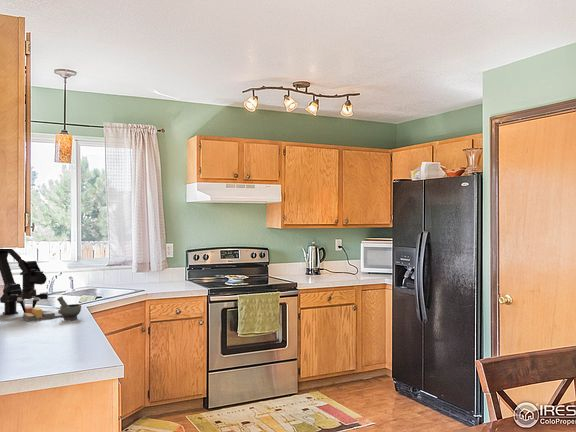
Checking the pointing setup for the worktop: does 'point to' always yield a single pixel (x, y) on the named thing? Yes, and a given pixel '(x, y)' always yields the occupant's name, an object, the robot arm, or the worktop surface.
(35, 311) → the ochre plug
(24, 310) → the robot arm
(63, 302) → the mortar and pestle
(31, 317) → the slot rack
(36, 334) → the worktop surface
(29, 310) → the brick plug
